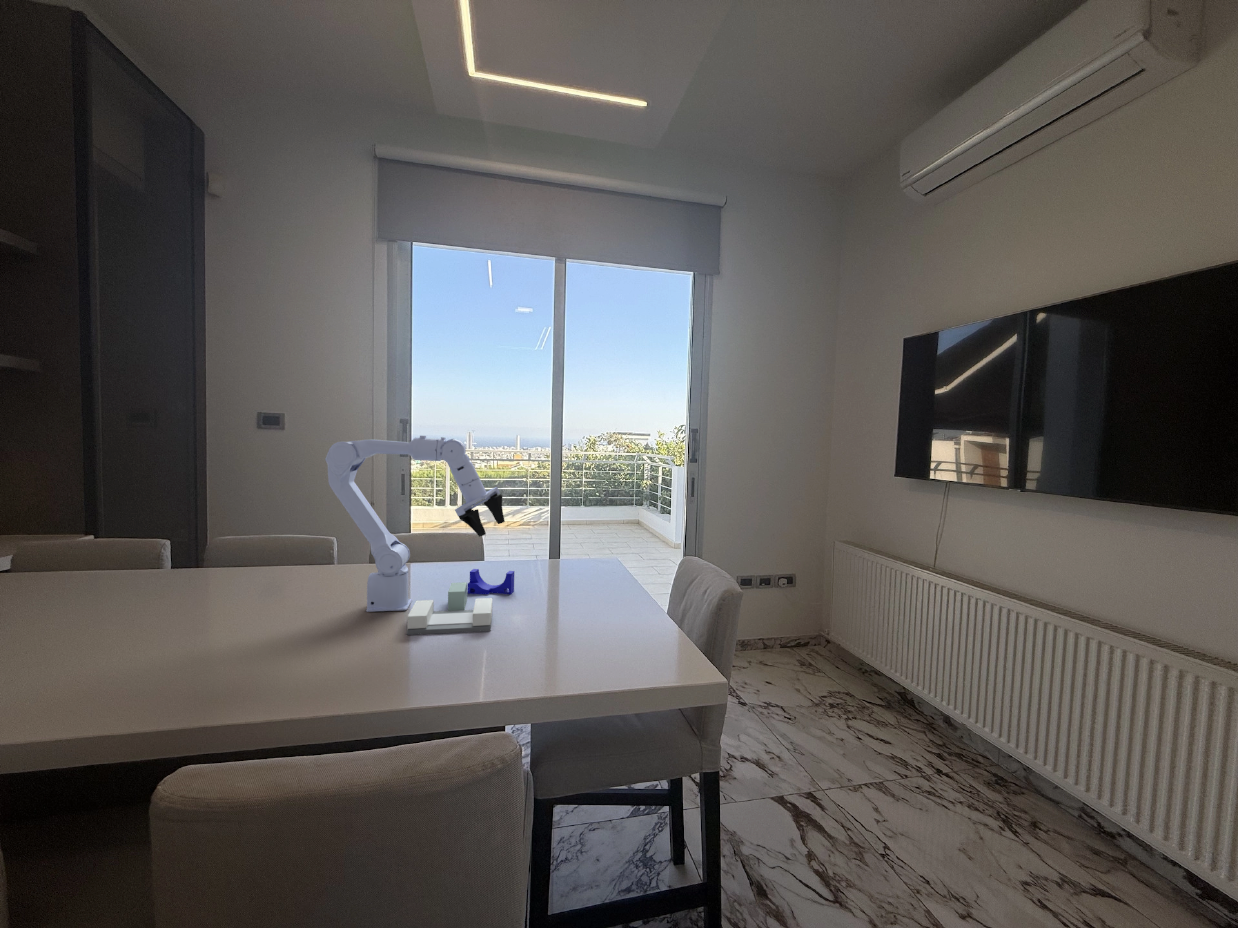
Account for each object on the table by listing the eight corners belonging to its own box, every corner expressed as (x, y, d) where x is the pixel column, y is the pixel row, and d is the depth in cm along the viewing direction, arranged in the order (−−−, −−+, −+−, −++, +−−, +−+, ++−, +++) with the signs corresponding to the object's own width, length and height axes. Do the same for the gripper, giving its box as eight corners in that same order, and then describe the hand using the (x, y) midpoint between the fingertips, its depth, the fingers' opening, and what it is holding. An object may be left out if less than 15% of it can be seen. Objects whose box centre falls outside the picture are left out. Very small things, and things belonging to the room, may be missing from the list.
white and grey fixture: (407, 634, 116) (407, 617, 116) (416, 616, 128) (416, 599, 127) (490, 630, 120) (490, 613, 119) (492, 612, 131) (492, 597, 131)
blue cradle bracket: (467, 593, 146) (467, 572, 146) (473, 589, 151) (473, 568, 150) (509, 596, 145) (509, 575, 145) (514, 591, 150) (514, 570, 149)
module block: (447, 611, 132) (447, 591, 132) (451, 601, 140) (451, 582, 139) (464, 610, 133) (464, 591, 132) (467, 600, 141) (467, 582, 140)
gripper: (459, 488, 127) (483, 538, 129) (497, 468, 139) (519, 514, 141) (441, 495, 131) (465, 543, 133) (480, 476, 143) (502, 520, 145)
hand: (492, 529), depth 137 cm, fingers open, 7 cm apart
